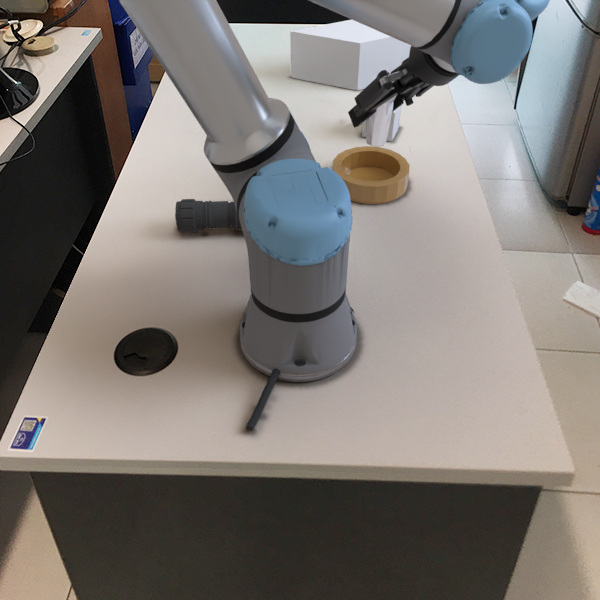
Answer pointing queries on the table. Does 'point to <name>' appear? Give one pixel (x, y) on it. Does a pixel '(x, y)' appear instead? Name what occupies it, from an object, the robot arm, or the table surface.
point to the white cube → (393, 125)
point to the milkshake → (379, 124)
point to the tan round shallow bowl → (372, 174)
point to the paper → (344, 54)
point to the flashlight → (205, 215)
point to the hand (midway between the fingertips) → (366, 115)
